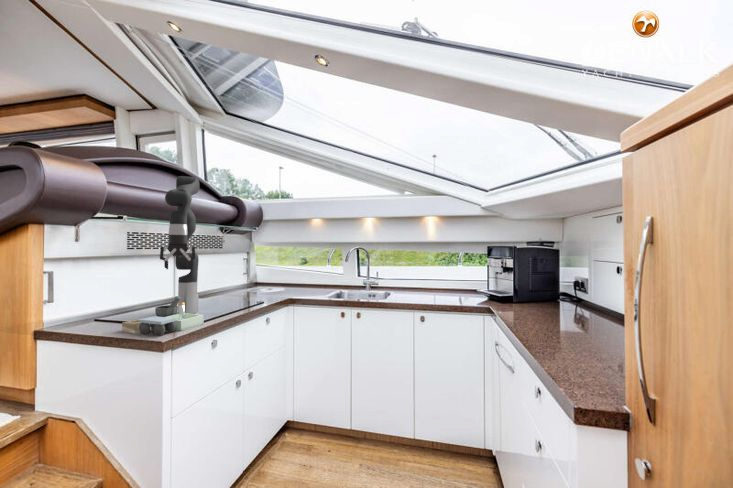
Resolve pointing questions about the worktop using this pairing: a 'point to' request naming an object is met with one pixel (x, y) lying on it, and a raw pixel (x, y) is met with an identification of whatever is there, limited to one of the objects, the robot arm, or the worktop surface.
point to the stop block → (131, 326)
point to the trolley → (157, 325)
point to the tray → (187, 321)
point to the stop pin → (181, 310)
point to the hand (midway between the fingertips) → (177, 268)
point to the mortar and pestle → (168, 308)
